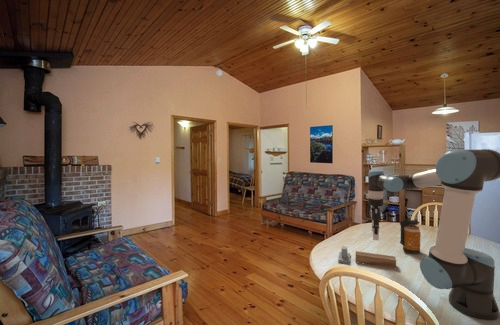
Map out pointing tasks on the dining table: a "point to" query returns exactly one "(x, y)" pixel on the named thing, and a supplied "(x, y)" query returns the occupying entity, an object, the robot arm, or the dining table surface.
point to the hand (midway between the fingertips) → (375, 235)
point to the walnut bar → (376, 259)
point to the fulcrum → (344, 256)
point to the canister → (410, 236)
